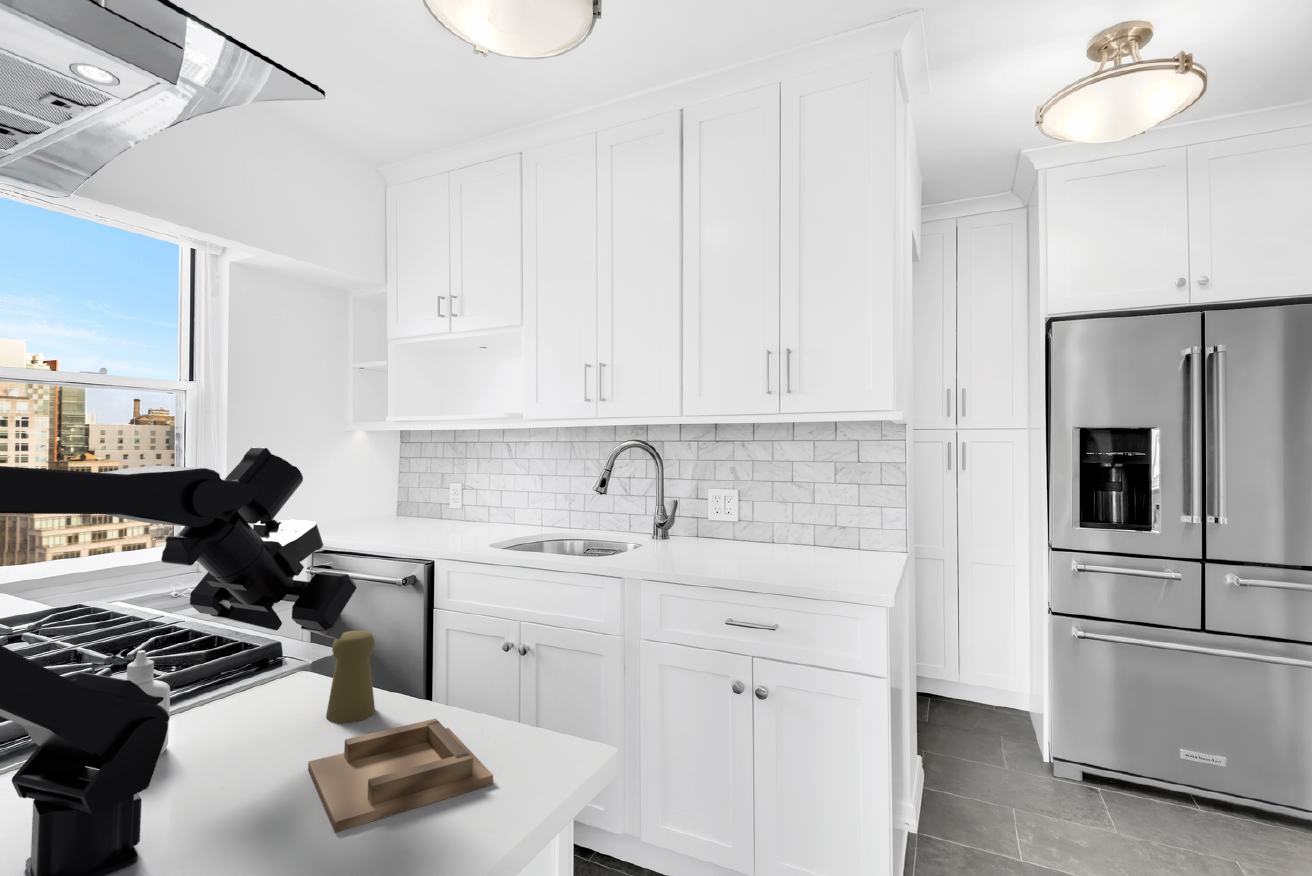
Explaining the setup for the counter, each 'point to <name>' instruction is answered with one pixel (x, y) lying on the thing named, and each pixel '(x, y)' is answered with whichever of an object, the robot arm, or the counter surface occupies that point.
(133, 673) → the eye dropper bottle
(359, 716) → the olive pepper mill
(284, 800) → the counter surface
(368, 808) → the seat
